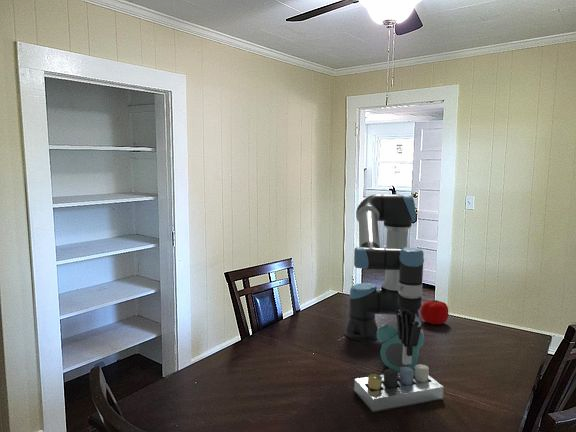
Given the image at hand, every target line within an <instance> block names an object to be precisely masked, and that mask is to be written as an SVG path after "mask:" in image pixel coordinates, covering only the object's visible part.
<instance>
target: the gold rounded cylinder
mask: <svg viewBox="0 0 576 432" xmlns="http://www.w3.org/2000/svg"><path fill="white" fill-rule="evenodd" d="M380 375H381V374H377V373H371V374H369V375H368V376H367V377H368V389H369V390H370V391H371V392H373V391H379V390H381V384H382V377H381V376H380Z"/></svg>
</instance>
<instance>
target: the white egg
mask: <svg viewBox="0 0 576 432" xmlns="http://www.w3.org/2000/svg"><path fill="white" fill-rule="evenodd" d="M414 370H415V380H416V381H417V382H418V383H419V384H421V383H427V382H428V376H430V375H429V374H430V371H429V370H430V368H429V366H428V365H426V364H421V363H419V364H418V363H417V364H416V365H415V368H414Z"/></svg>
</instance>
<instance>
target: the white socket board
mask: <svg viewBox="0 0 576 432" xmlns="http://www.w3.org/2000/svg"><path fill="white" fill-rule="evenodd" d="M413 370H414V372H413V385H409V386H403V385H402V384H401V383H400V372H398V371H397V372H398V382H397V388H391V389H387V388H386V387H385V386H384V374H379V375H380V376H381V377H382V384H381V390H379V391H373V392H371V391H370V390H369V389H368V376H365V377H360V378H359V377H357V378H355V379H354V389H353V391H354V393H355V395H357V396H358V398H360V400H361V401H362V402H363V403H364V404H365V405H366V407H367V408H368V409H369V410H370V411H371V412H372V413H378V412H383V411H389V410H393V409H394V410H395V409H398V408H405V407H410V406H416V405H421V404H427V403H431V402H436V401H443V400H444V389H445V388H444V385H442V384H440V383H439V382H438V381H437V380H436V379H434V378H433V377H432V376H431V375H429V376H428V382H427V383H421V384H419V383H418V382H417V381H416V380H415V369H413Z"/></svg>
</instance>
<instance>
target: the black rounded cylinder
mask: <svg viewBox="0 0 576 432" xmlns="http://www.w3.org/2000/svg"><path fill="white" fill-rule="evenodd" d="M383 375H384V386H385V387H386V388H387V389H391V388H397V382H398V371H396V370H393V369H390V368H387V369H385V370H384V372H383Z"/></svg>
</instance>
